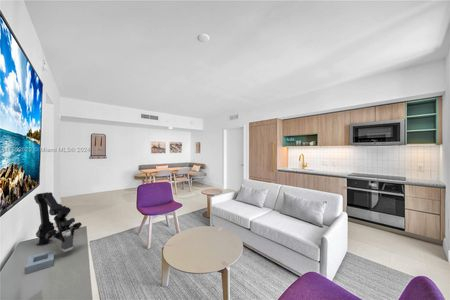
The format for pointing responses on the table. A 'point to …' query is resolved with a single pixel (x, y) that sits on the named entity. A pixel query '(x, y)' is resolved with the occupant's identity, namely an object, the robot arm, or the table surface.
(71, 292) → the table surface
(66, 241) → the plug
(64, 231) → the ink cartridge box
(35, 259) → the socket block
